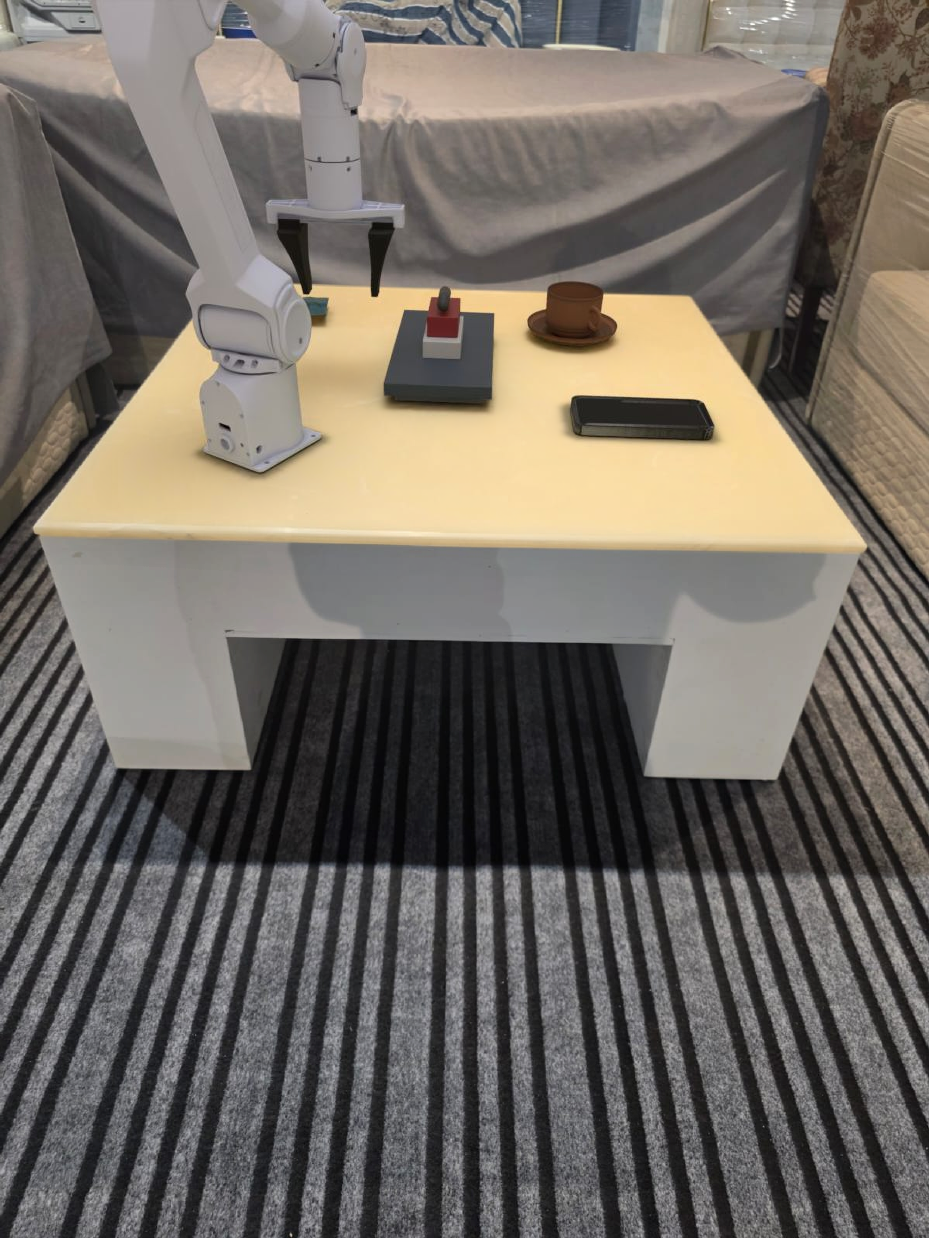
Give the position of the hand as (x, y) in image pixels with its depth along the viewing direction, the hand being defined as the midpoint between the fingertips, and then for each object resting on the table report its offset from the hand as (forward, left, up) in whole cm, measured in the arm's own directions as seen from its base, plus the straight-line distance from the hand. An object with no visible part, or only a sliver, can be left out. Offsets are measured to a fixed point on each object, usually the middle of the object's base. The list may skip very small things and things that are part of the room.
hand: (341, 293), depth 94 cm
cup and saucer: (+28, -16, -10) cm, 34 cm away
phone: (+9, -34, -10) cm, 36 cm away
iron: (+9, -8, -7) cm, 14 cm away
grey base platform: (+9, -8, -10) cm, 16 cm away
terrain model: (+11, +20, -10) cm, 25 cm away
